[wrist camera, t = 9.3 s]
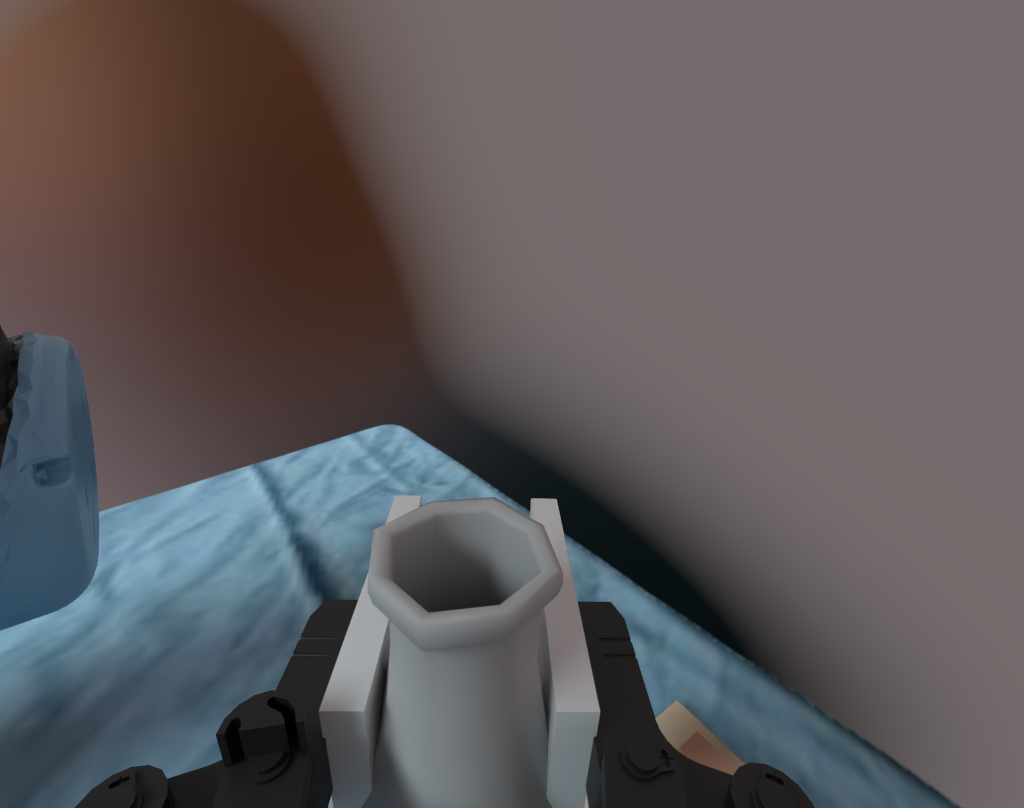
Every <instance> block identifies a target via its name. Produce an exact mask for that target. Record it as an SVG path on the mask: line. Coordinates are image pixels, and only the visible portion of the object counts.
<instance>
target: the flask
mask: <svg viewBox="0 0 1024 808" xmlns="http://www.w3.org/2000/svg"><path fill="white" fill-rule="evenodd" d="M562 585H563V571H562V569H561V566H560V564H559V561H558V559H557V557H556V554H555V552H554V549H553V547H552V544H551V542H550V539H549V537H548V535H547V532H546V530H545V527H544V525H543V524H541V523H539V522H537V521H535V520H534V519H532V518H530V517H528V516H527V515H525V514H523V513H521V512H519V511H518V510H516V509H514V508H512V507H511V506H509V505H507V504H505V503H504V502H502V501H500V500H498V499H496V498H495V497H493V498H478V499H463V500H448V501H433V502H429V503H427V504H425V505H423V506H421V507H419V508H417V509H415V510H412V511H410V512H408V513H406V514H404V515H402V516H400V517H398V518H396V519H394V520H392V521H390V522H388V523H386V524H384V525H382V526H380V527H378V528H376V529H374V532H373V540H372V548H371V556H370V564H369V572H368V580H367V588H368V595H369V597H370V599H371V602H372V604H374V605H375V606H376V607H377V608H378V609H379V610H380V611H381V612H382V613H383V614H384V615H385V616H386V617H387V618H388V619H389V625H390V648H389V654H388V660H387V666H386V673H385V683H384V693H383V702H382V710H381V717H380V724H379V730H378V737H377V744H376V751H375V757H374V764H373V784H372V791H371V793H370V794H369V796H368V798H367V799H366V801H365V803H364V804H363V806H362V808H552V806H551V804H550V803H549V801H548V799H547V764H548V731H547V724H546V717H545V711H544V704H543V697H542V690H541V683H540V676H539V669H538V662H537V658H538V643H539V628H540V615H541V611H542V609H543V608H544V607H545V606H546V605H547V604H548V603H549V602H551V601H552V600H553V599H554V598H555V597H556V596H558V594H559V592H560V590H561V587H562ZM328 808H334V807H333V801H332V800H331V802H330V805H329V807H328Z"/></svg>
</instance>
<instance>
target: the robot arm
mask: <svg viewBox="0 0 1024 808" xmlns="http://www.w3.org/2000/svg"><path fill="white" fill-rule="evenodd" d="M421 506H422V498H421V496H402V495H396V496H395V499H394V501H393V504H392V507H391V510H390V513H389V515H388V518H387V521H386V523H388V522H390V521H392V520H394V519H396V518H398V517H400V516H402V515H404V514H406V513H408V512H410V511H412V510H415V509H417V508H419V507H421ZM98 508H99V507H98V489H97V475H96V464H95V452H94V443H93V434H92V426H91V418H90V411H89V404H88V398H87V392H86V387H85V381H84V376H83V372H82V368H81V364H80V360H79V358H78V355H77V354H76V352H75V350H74V348H73V346H72V344H71V343H70V342H68V341H67V340H66V339H64V338H61V337H57V336H45V335H40V334H38V333H35V332H27V333H23V334H21V335H17V336H14V337H10V338H7V337H6V335H5V334H4V332H3V330H2V328H1V326H0V631H1V630H3V629H6V628H9V627H12V626H15V625H18V624H21V623H24V622H27V621H29V620H32V619H35V618H38V617H41V616H44V615H47V614H50V613H52V612H55V611H57V610H59V609H61V608H63V607H65V606H67V605H69V604H70V603H72V602H73V601H74V600H76V599H77V598H78V597H79V596H80V595H81V594H82V593H83V592H84V591H85V590H86V588H87V587H88V585H89V584H90V582H91V581H92V578H93V576H94V573H95V570H96V567H97V562H98V554H99V509H98ZM530 518H532V519H534V520H535V521H537V522H539V523H541V524H543V525H544V527H545V530H546V532H547V535H548V537H549V539H550V542H551V544H552V547H553V549H554V552H555V554H556V557H557V559H558V561H559V564H560V566H561V569H562V571H563V585H562V587H561V590H560V592H559V594H558V596H556V597H555V598H554V599H553V600H552V601H551V602H549V603H548V604H547V605H546V606H545V607H544V608H543V609H542V611H541V615H540V628H539V643H538V658H537V662H538V669H539V676H540V683H541V690H542V697H543V704H544V711H545V717H546V724H547V731H548V764H547V799H548V801H549V803H550V804H551V806H552V808H584V806H585V800H586V794H587V799H588V806H589V808H814V806H813V804H812V802H811V801H810V800H809V798H808V797H807V796H806V795H805V793H804V792H803V791H802V789H801V788H800V787H799V785H797V784H796V783H795V782H794V781H793V780H791V779H790V778H789V777H788V776H787V775H785V774H784V773H783V772H781V771H779V770H777V769H775V768H773V767H771V766H768V765H766V764H759V763H748V764H746V765H743V766H740V767H739V768H738V769H737V770H736V772H735V773H734V775H731V774H728V773H725V772H722V771H720V770H717V769H714V768H711V767H708V766H705V765H702V764H700V763H697V762H695V761H693V760H691V759H689V758H687V757H686V756H684V755H683V754H681V753H680V752H679V751H677V750H676V749H675V748H674V747H673V746H672V745H671V744H670V743H669V742H668V741H667V739H666V738H665V736H664V735H663V733H662V732H661V731H660V728H659V726H658V724H657V722H656V719H655V716H654V713H653V709H652V706H651V703H650V700H649V697H648V693H647V690H646V687H645V684H644V681H643V677H642V674H641V671H640V668H639V664H638V661H637V659H636V657H635V652H634V648H633V645H632V642H631V641H630V636H629V632H628V629H627V626H626V623H625V619H624V618H623V617H622V615H621V614H620V613H619V612H618V610H617V609H616V608H615V607H614V605H613V604H612V603H611V602H578V601H577V596H576V591H575V586H574V581H573V577H572V572H571V567H570V562H569V557H568V552H567V547H566V543H565V538H564V533H563V528H562V523H561V518H560V513H559V508H558V504H557V499H531V512H530ZM368 572H369V571H368ZM367 580H368V574H367V577H366V580H365V583H364V586H363V588H362V591H361V594H360V597H359V600H326V601H325V602H324V603H323V604H322V605H321V606H320V607H319V608H318V609H317V610H316V611H315V612H314V613H313V614H312V615H311V616H310V618H309V620H308V622H307V624H306V626H305V628H304V631H303V633H302V635H301V639H300V640H299V641H298V643H297V646H296V648H295V650H294V652H293V657H291V659H290V661H289V663H288V665H287V667H286V669H285V672H284V674H283V676H282V678H281V680H280V682H279V685H278V687H277V689H276V691H268V692H264V693H261V694H258V695H254V696H253V697H251V698H249V699H248V700H246V701H244V702H243V703H241V704H239V705H238V706H237V707H236V708H235V709H234V710H233V711H232V712H231V713H230V714H229V715H228V716H227V717H226V718H225V719H224V721H223V723H222V725H221V726H220V728H219V730H218V732H217V733H216V737H217V741H218V744H219V748H220V751H221V755H222V758H223V760H221V761H218V762H216V763H214V764H211V765H209V766H206V767H203V768H200V769H197V770H194V771H191V772H187V773H184V774H181V775H178V776H175V777H172V778H169V779H167V778H166V776H165V774H164V773H163V771H162V770H161V769H159V768H156V767H153V766H150V765H145V766H136V767H131V768H128V769H126V770H124V771H121V772H119V773H117V774H114V775H112V776H111V777H109V778H108V779H106V780H105V781H103V782H102V783H101V784H99V785H98V786H96V787H95V788H94V789H92V790H91V791H90V792H89V793H88V794H87V795H86V796H85V797H84V798H83V800H82V801H81V802H80V803H79V804H78V805H77V806H76V807H75V808H328V805H329V801H330V798H331V794H332V801H333V807H334V808H362V806H363V804H364V803H365V801H366V799H367V798H368V796H369V794H370V793H371V791H372V784H373V764H374V757H375V751H376V744H377V737H378V730H379V724H380V717H381V710H382V702H383V693H384V683H385V673H386V666H387V660H388V654H389V648H390V625H389V619H388V618H387V617H386V616H385V615H384V614H383V613H382V612H381V611H380V610H379V609H378V608H377V607H376V606H375V605H374V604H372V602H371V599H370V597H369V595H368V588H367Z"/></svg>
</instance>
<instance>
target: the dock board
mask: <svg viewBox="0 0 1024 808" xmlns="http://www.w3.org/2000/svg"><path fill="white" fill-rule="evenodd" d="M655 719H656V722H657V724H658V726H659V728H660V731H661V732H662V733H663V735H664V736H665V738H666V739H667V741H668V742H669V743H670V744H671V745H672V746H673V747H674V748H675V749H676V750H677V751H679V752H680V753H681V754H683V755H684V756H686V757H687V758H689V759H691V760H693V761H695V762H697V763H700V764H702V765H705V766H708V767H711V768H714V769H717V770H720V771H722V772H725V773H728V774H731V775H734V773H735V772H736V770H737V769H738V768H739V767H740V766H743V765H746V764H744V763H743V762H742V761H741V760H740V759H739V758H738V757H737V756H736V755H735V754H734V753H733V752H732V751H731V750H730V749H729V748H728V747H726V746H725V745H724V744H723V743H722V742H721V741H720V740H719V739H718V738H717V737H716V736H715V735H714V734H713V733H712V732H711V731H709V730H708V729H707V728H706V727H705V726H704V725H703V724H702V723H701V722H700V721H699V720H698V719H697V718H696V717H695V716H694V715H692V714H691V713H690V712H689V711H688V710H687V709H686V708H685V707H684V706H683V705H682V704H681V703H680V702H679V701H678V700H676V701H675V702H674V703H672V704H671V705H670V706H669V707H668V708H667V709H666V710H664V711H663V712H662V713H661V714H660V715H659V716H658V717H656V718H655ZM584 808H589V806H588V799H587V794H586V800H585V806H584Z"/></svg>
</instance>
